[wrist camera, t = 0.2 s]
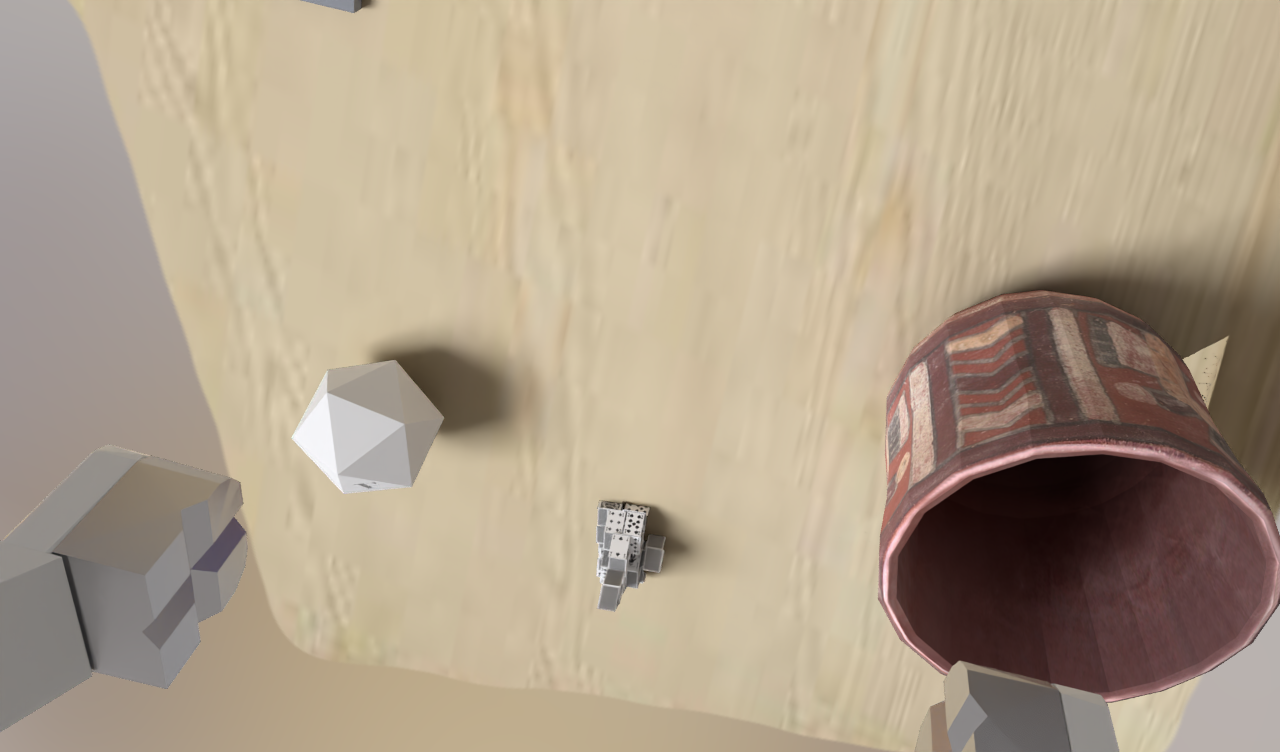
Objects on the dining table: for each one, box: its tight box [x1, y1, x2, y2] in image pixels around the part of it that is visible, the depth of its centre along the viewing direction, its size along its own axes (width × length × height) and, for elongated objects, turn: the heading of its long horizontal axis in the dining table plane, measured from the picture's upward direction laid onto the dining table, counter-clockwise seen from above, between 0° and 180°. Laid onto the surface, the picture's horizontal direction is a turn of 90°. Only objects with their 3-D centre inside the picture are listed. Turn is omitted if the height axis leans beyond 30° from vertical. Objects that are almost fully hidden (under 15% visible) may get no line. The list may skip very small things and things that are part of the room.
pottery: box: [878, 290, 1280, 703], centre depth 54 cm, size 18×18×18 cm
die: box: [292, 360, 444, 494], centre depth 67 cm, size 8×9×10 cm
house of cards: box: [596, 500, 666, 612], centre depth 73 cm, size 9×9×8 cm
